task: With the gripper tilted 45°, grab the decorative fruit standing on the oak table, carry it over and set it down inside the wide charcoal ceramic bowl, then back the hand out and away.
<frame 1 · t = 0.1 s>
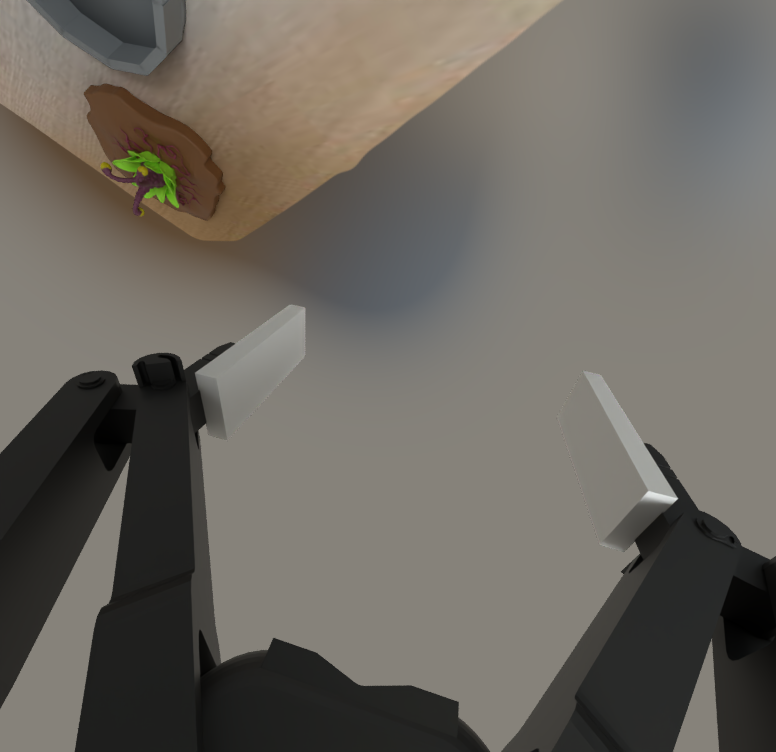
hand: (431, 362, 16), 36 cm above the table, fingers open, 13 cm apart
sprouting soil patch: (166, 157, 56), on the table
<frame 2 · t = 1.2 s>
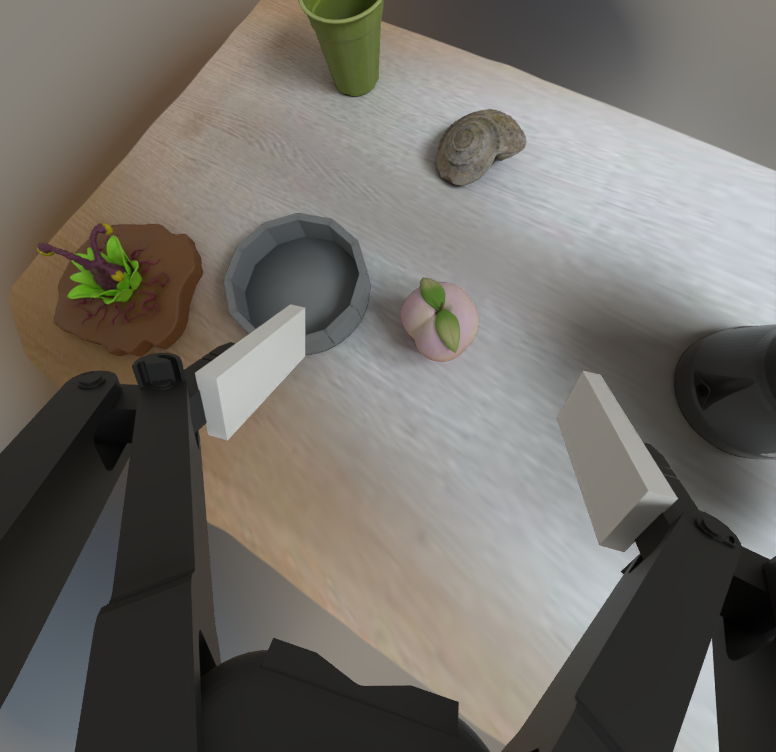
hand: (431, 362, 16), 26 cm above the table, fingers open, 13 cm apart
fossilized seashell: (476, 163, 49), on the table
bowl: (305, 293, 46), on the table
sprouting soil patch: (137, 291, 49), on the table
plant pot: (356, 82, 54), on the table
decorative fruit: (437, 335, 43), on the table
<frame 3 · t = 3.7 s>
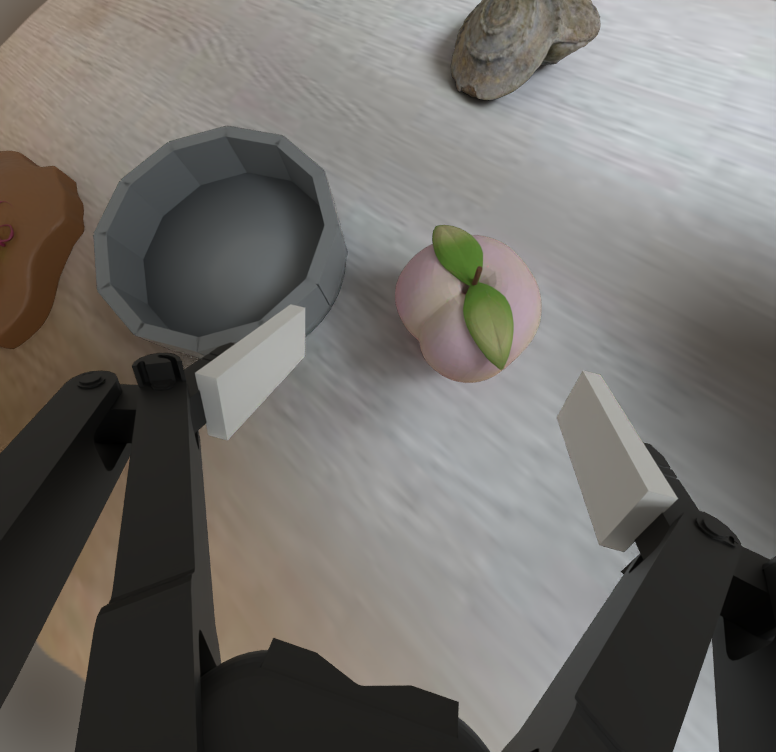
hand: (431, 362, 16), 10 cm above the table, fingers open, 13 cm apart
fossilized seashell: (513, 72, 31), on the table
bowl: (243, 263, 28), on the table
decorative fruit: (456, 334, 26), on the table
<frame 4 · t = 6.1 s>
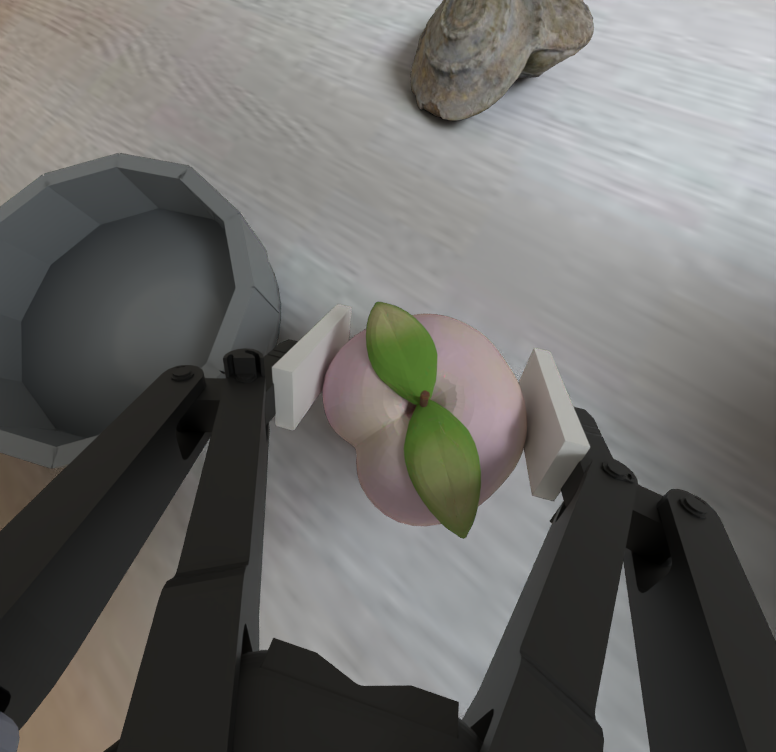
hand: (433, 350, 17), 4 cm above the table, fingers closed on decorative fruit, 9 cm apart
fossilized seashell: (488, 86, 26), on the table
bowl: (151, 323, 22), on the table
decorative fruit: (420, 419, 20), on the table, touching gripper
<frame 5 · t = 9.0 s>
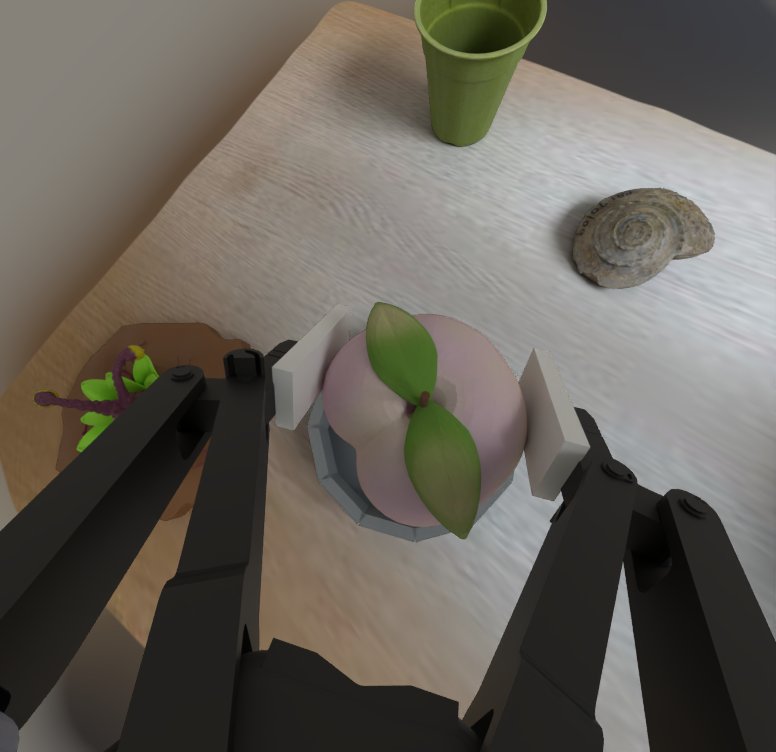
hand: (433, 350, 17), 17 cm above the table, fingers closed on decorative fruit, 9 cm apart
fossilized seashell: (625, 254, 36), on the table
bowl: (412, 428, 33), on the table
sprouting soil patch: (171, 414, 35), on the table
plant pot: (460, 126, 41), on the table
decorative fruit: (420, 420, 20), point 13 cm above the table, touching gripper
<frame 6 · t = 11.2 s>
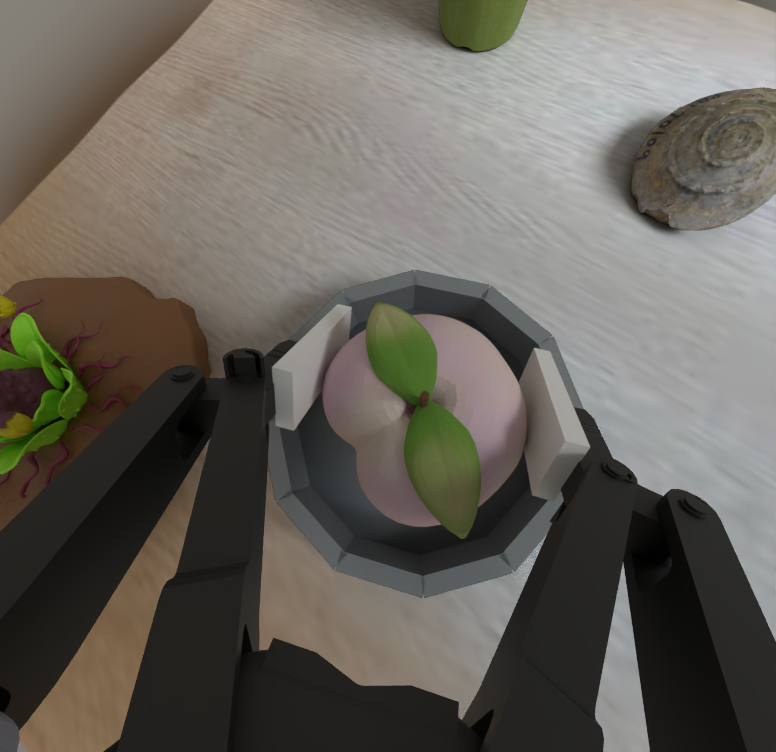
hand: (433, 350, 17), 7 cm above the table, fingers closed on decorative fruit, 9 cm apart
fossilized seashell: (702, 189, 26), on the table
bowl: (416, 422, 23), on the table
sprouting soil patch: (84, 403, 26), on the table
plant pot: (477, 28, 31), on the table
decorative fruit: (420, 420, 20), point 3 cm above the table, touching gripper
when the fingers open (7 cm above the table, at t = 11.9 s): decorative fruit drops 2 cm, resting on bowl.
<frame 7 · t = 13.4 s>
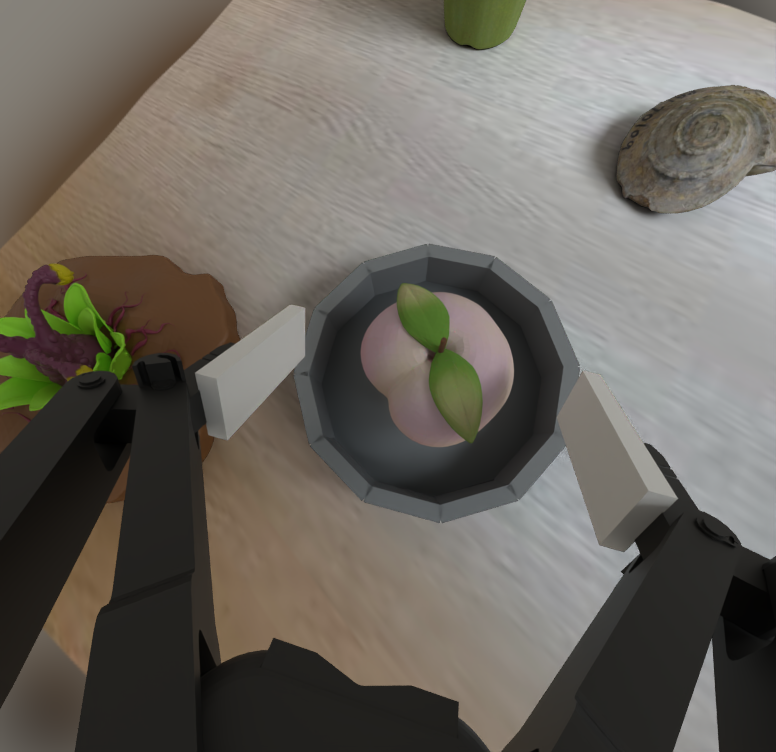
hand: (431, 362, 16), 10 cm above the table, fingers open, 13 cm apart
fossilized seashell: (680, 177, 29), on the table
bowl: (428, 383, 26), on the table
sprouting soil patch: (122, 371, 28), on the table
plant pot: (479, 28, 34), on the table
decorative fruit: (430, 382, 25), point 1 cm above the table, touching bowl
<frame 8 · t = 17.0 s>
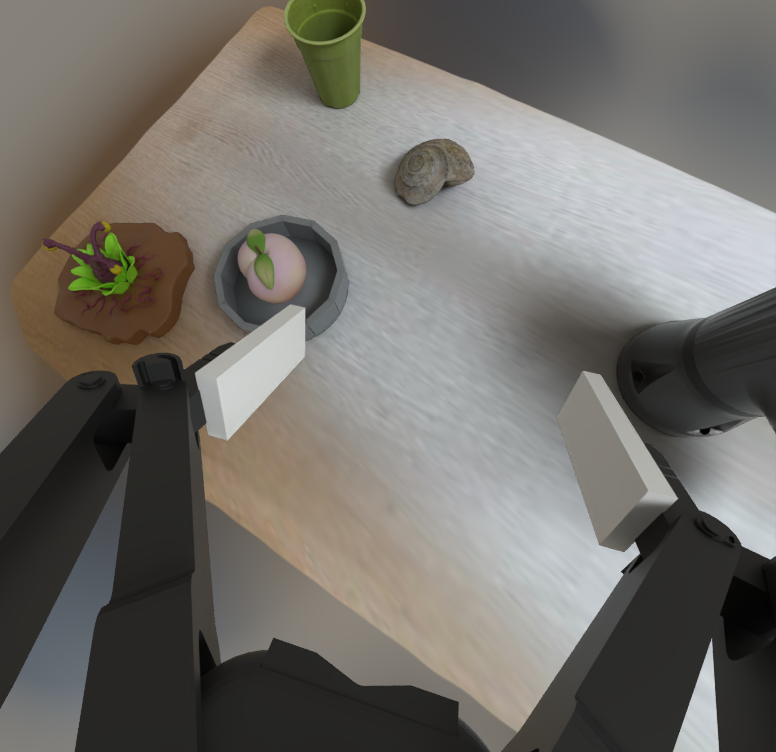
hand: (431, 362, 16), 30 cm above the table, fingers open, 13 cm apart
fossilized seashell: (433, 185, 53), on the table
bowl: (289, 288, 50), on the table
sprouting soil patch: (132, 285, 52), on the table
plant pot: (340, 95, 58), on the table
decorative fruit: (288, 286, 49), point 1 cm above the table, touching bowl
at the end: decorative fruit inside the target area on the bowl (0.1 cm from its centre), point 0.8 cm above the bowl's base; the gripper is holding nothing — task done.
